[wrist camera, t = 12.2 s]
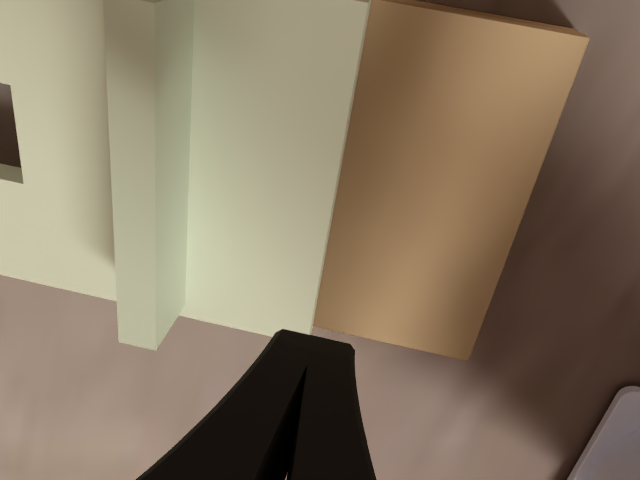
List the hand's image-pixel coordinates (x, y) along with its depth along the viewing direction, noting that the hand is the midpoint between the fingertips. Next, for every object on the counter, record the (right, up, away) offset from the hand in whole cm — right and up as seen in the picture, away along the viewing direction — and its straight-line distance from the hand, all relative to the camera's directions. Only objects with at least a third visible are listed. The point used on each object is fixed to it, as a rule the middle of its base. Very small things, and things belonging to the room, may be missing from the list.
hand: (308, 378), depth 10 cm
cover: (-6, +6, +8) cm, 11 cm away
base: (0, +5, +9) cm, 10 cm away
